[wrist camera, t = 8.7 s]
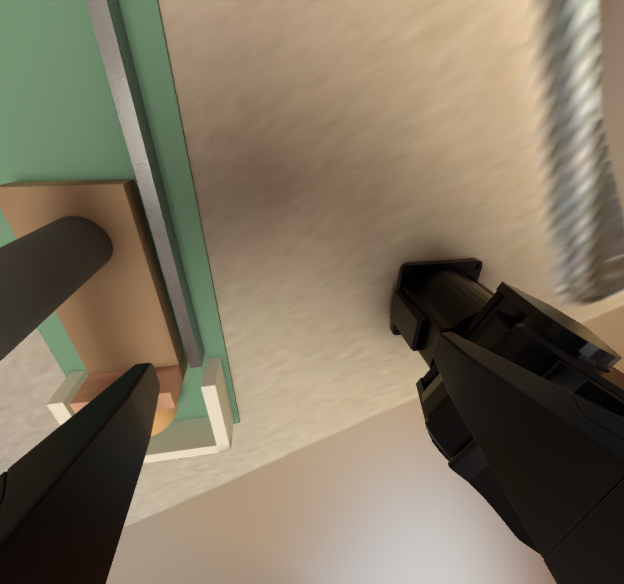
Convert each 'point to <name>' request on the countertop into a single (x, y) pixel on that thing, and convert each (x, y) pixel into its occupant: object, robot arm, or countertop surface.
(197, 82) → the countertop surface
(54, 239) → the striker sled
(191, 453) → the box
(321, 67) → the countertop surface
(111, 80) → the guide rail
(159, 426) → the foosball
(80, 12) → the mat
